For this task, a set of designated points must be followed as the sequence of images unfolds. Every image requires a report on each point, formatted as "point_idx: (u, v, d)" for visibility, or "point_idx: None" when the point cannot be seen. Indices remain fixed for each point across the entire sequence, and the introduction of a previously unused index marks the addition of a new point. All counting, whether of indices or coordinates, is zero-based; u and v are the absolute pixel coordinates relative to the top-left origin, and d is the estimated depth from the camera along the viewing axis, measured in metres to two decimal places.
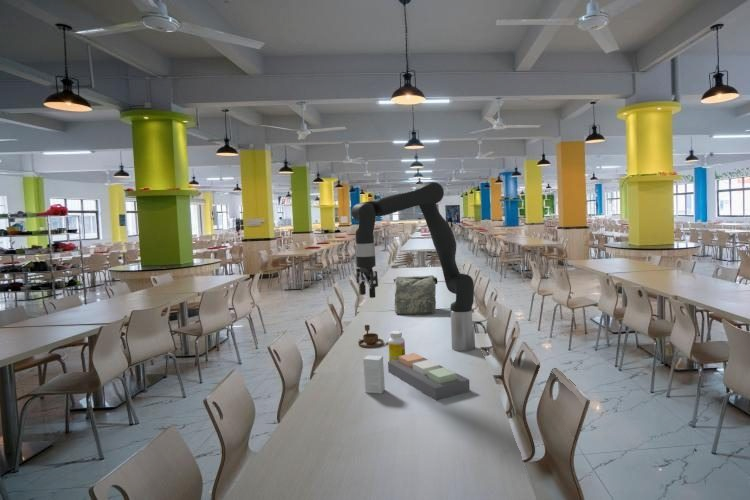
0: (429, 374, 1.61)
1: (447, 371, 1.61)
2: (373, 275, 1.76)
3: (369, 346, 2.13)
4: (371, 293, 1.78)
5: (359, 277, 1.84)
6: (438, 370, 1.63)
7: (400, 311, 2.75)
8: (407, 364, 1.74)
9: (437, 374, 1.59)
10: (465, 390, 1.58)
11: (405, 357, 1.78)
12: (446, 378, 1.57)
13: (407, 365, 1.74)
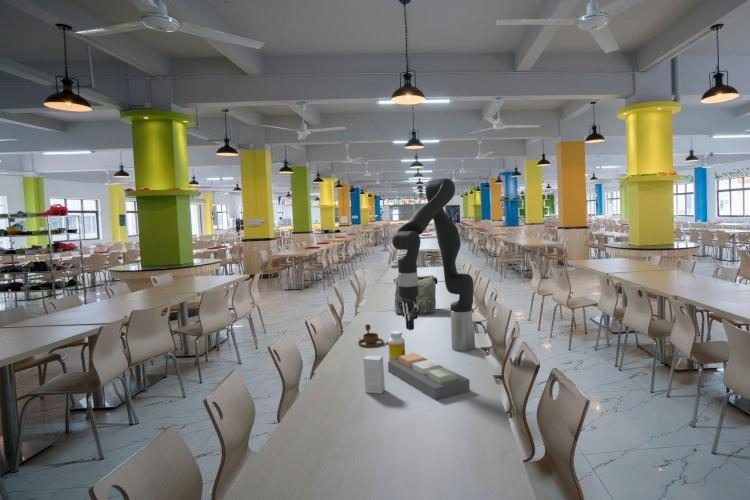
0: (429, 374, 1.61)
1: (447, 371, 1.61)
2: (416, 311, 1.71)
3: (369, 346, 2.14)
4: (410, 325, 1.76)
5: (403, 309, 1.77)
6: (438, 370, 1.63)
7: (400, 311, 2.75)
8: (407, 364, 1.74)
9: (437, 374, 1.59)
10: (465, 390, 1.58)
11: (405, 357, 1.78)
12: (446, 378, 1.57)
13: (407, 365, 1.74)
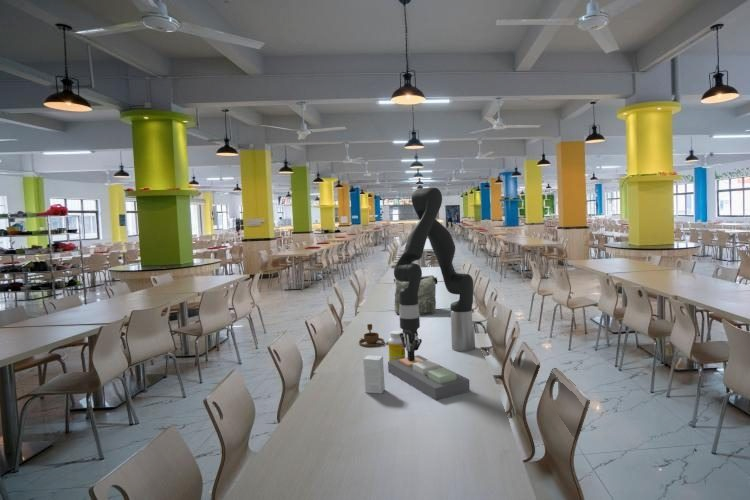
0: (429, 374, 1.61)
1: (447, 371, 1.61)
2: (417, 344, 1.73)
3: (369, 345, 2.15)
4: (410, 356, 1.77)
5: (404, 340, 1.78)
6: (438, 370, 1.63)
7: None
8: None
9: (437, 374, 1.59)
10: (465, 390, 1.58)
11: (405, 360, 1.78)
12: (446, 378, 1.57)
13: None
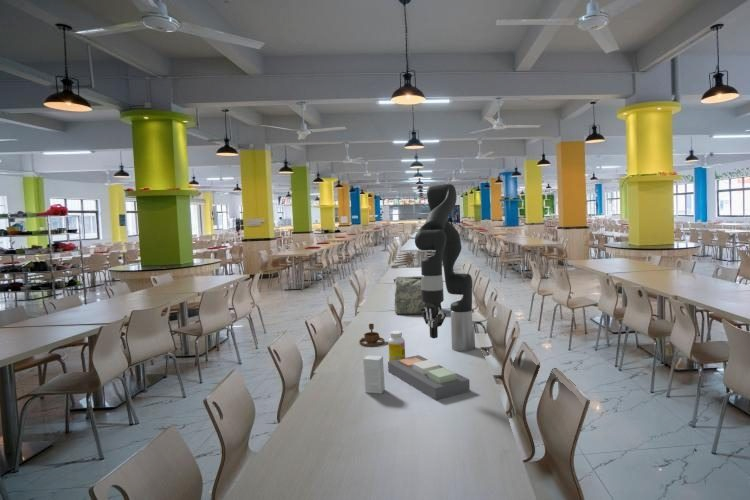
0: (429, 374, 1.61)
1: (447, 371, 1.61)
2: (440, 318, 1.56)
3: (369, 345, 2.15)
4: (433, 333, 1.60)
5: (426, 315, 1.61)
6: (438, 370, 1.63)
7: (400, 311, 2.75)
8: None
9: (437, 374, 1.59)
10: (465, 390, 1.58)
11: (405, 361, 1.78)
12: (446, 378, 1.57)
13: None
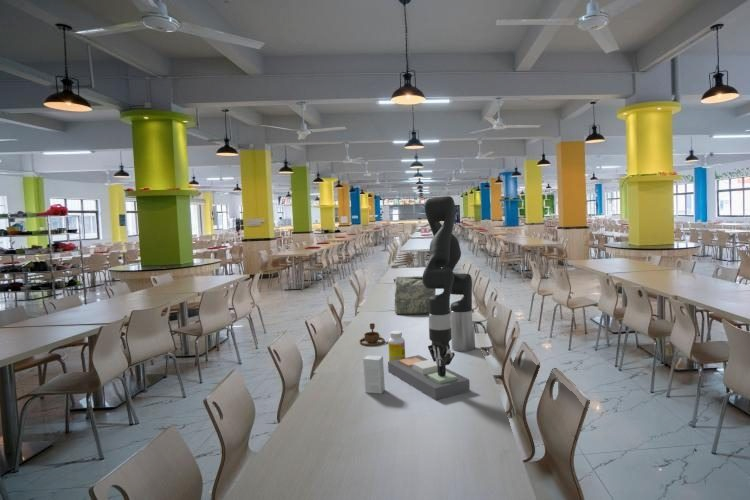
0: (429, 377, 1.61)
1: (447, 374, 1.61)
2: (449, 358, 1.55)
3: (368, 344, 2.16)
4: (441, 371, 1.59)
5: (434, 353, 1.60)
6: None
7: (400, 311, 2.75)
8: None
9: (437, 377, 1.59)
10: (465, 390, 1.58)
11: (405, 361, 1.78)
12: None
13: None
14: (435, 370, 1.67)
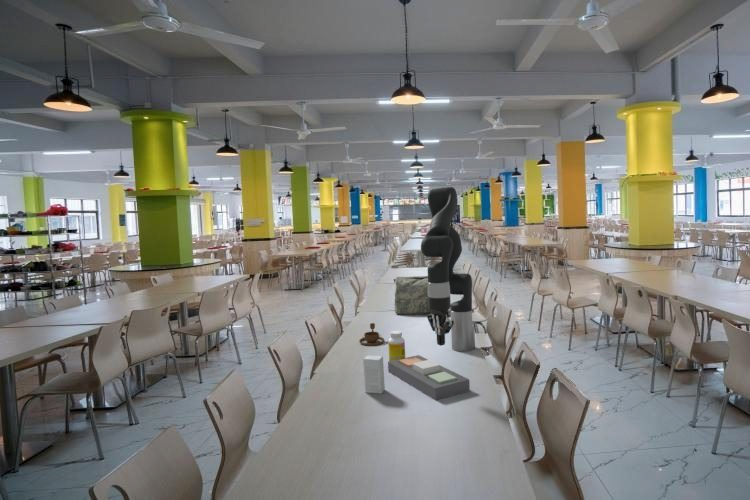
0: (429, 378, 1.61)
1: (447, 375, 1.61)
2: (448, 326, 1.54)
3: (368, 344, 2.17)
4: (441, 340, 1.58)
5: (433, 322, 1.59)
6: (438, 374, 1.63)
7: (400, 311, 2.75)
8: None
9: (437, 378, 1.59)
10: (465, 390, 1.58)
11: (405, 361, 1.78)
12: None
13: None
14: (435, 370, 1.67)
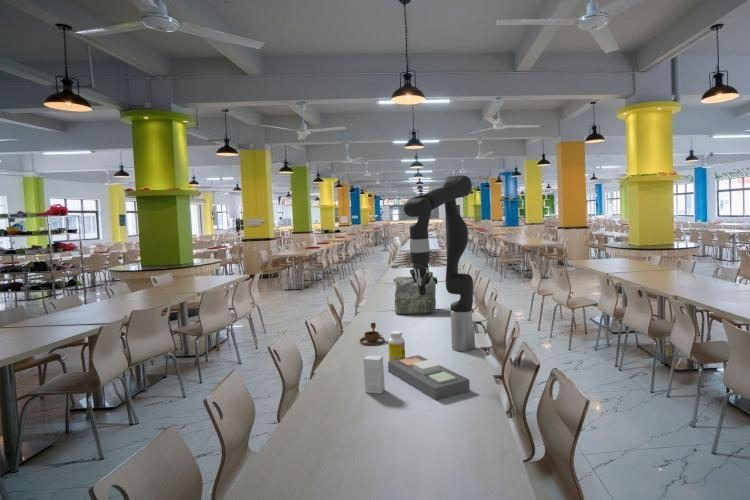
0: (429, 378, 1.61)
1: (447, 375, 1.61)
2: (428, 277, 1.75)
3: (368, 344, 2.17)
4: (422, 290, 1.80)
5: (415, 275, 1.81)
6: (438, 374, 1.63)
7: (400, 311, 2.75)
8: None
9: (437, 378, 1.59)
10: (465, 390, 1.58)
11: (405, 361, 1.78)
12: None
13: None
14: (435, 370, 1.67)
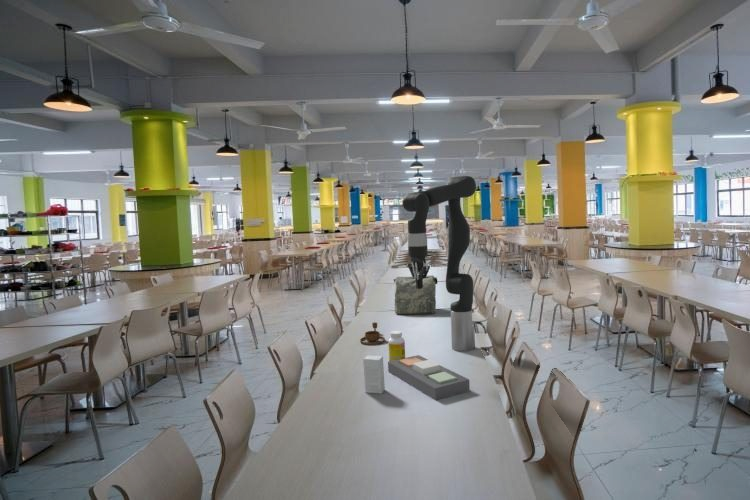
0: (429, 378, 1.61)
1: (447, 375, 1.61)
2: (425, 270, 1.78)
3: (368, 343, 2.18)
4: (419, 284, 1.83)
5: (413, 269, 1.84)
6: (438, 374, 1.63)
7: (400, 311, 2.75)
8: None
9: (437, 378, 1.59)
10: (465, 390, 1.58)
11: (405, 361, 1.78)
12: None
13: None
14: (435, 370, 1.67)
